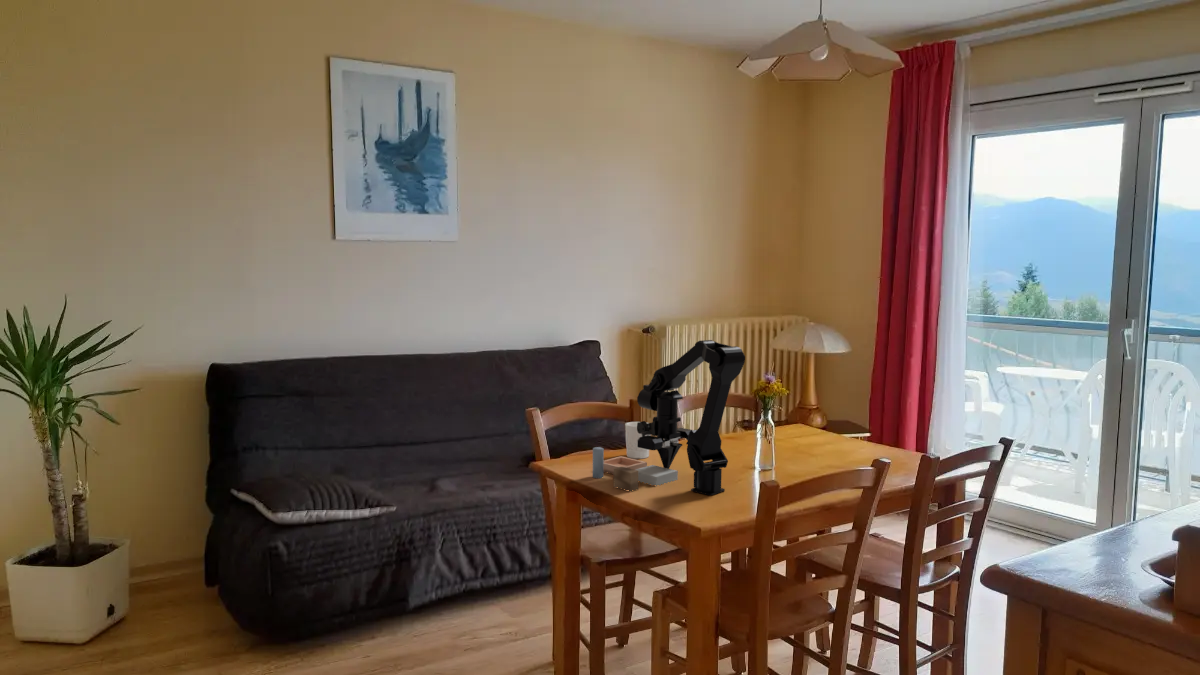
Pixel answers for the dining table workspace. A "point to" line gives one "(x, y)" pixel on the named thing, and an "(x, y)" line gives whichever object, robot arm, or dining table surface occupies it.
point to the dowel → (598, 462)
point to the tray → (622, 464)
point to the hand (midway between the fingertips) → (666, 469)
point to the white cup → (634, 442)
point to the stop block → (626, 478)
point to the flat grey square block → (656, 475)
